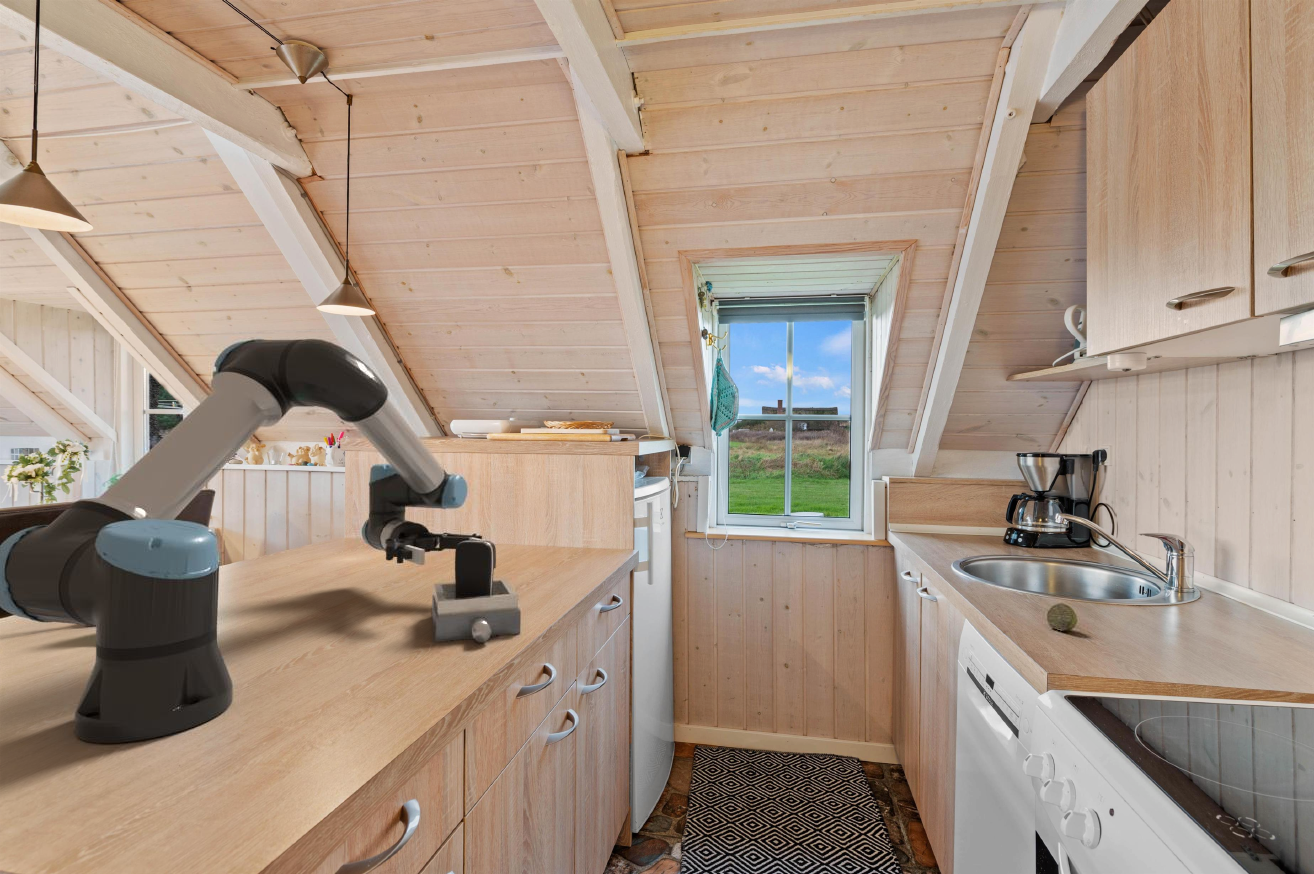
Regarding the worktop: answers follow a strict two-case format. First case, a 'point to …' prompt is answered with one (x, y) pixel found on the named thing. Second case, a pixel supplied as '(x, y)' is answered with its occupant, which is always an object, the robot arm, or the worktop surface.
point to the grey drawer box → (475, 613)
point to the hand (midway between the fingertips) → (456, 552)
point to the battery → (474, 568)
